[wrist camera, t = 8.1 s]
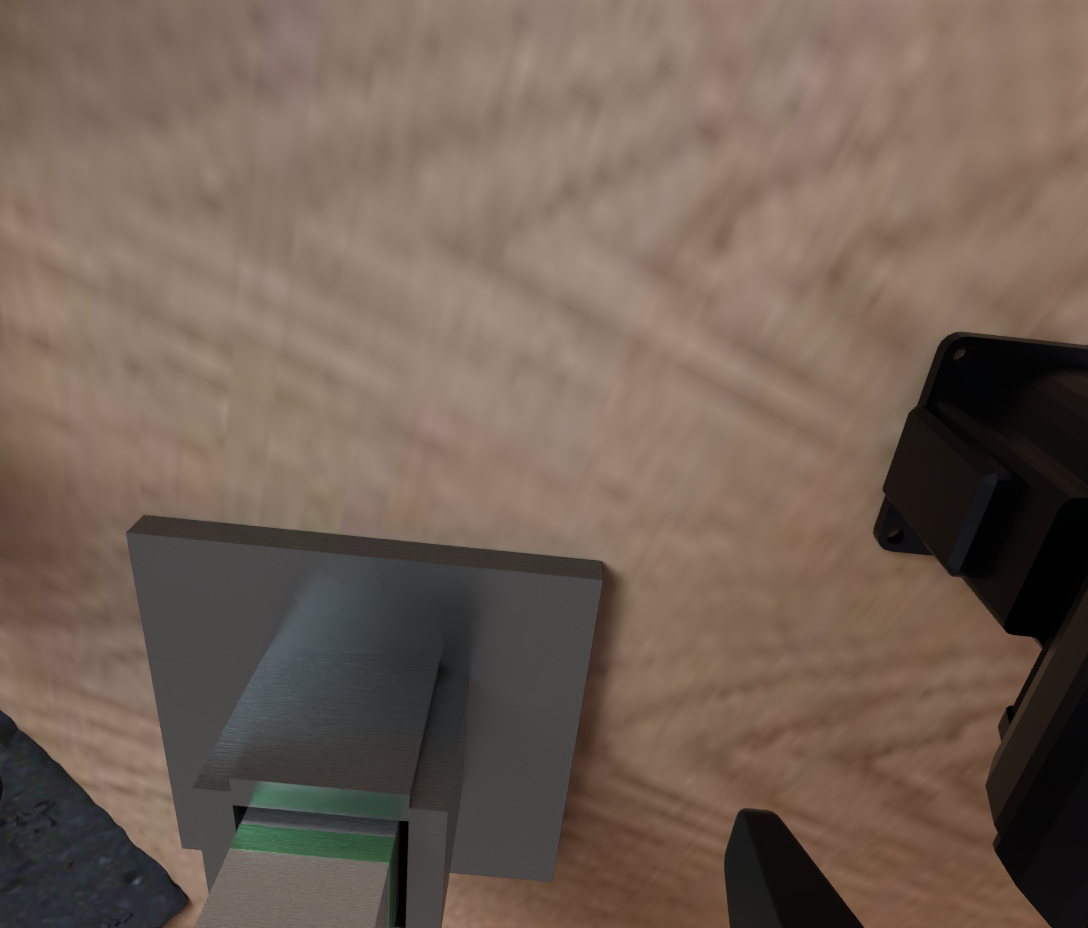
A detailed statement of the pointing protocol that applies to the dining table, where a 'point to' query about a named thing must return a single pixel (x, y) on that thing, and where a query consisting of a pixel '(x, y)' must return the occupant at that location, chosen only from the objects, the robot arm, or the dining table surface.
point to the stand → (368, 690)
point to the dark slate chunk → (69, 852)
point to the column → (307, 873)
